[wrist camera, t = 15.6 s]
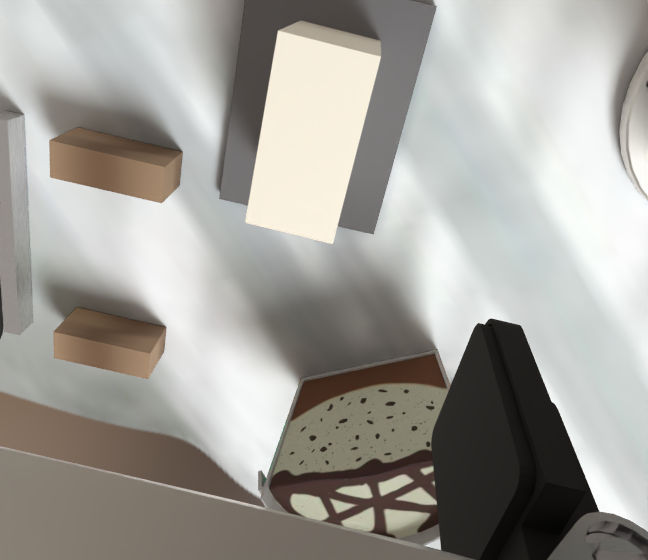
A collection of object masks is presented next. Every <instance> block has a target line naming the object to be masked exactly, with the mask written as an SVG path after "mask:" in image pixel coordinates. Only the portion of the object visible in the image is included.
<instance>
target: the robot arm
mask: <svg viewBox="0 0 648 560" xmlns="http://www.w3.org/2000/svg"><path fill="white" fill-rule="evenodd" d="M647 81H648V51H647V53H646V54H645V55H644V57H643V58H642V60H641V62H640V64H639V66H638V68H637V70H636V72H635V74H634V76H633V78H632V80H631V82H630V84H629V88H628V91H627V94H626V97H625V101H624V104H623V107H622V113H621V122H620V131H619V134H620V145H621V155H622V158H623V161H624V164H625V167H626V170H627V174H628V176H629V177H630V179H631V181H632V182H633V184H634V185H635V187H636V189H637V190H638V192H639V193H640V194H641V195H642V196H643V197H644V198H645V199H646V200H647V201H648V86H646V84H647ZM2 333H3V313H2V299H1V286H0V338H1V336H2ZM431 449H432V460H433V470H434V480H435V490H436V501H437V511H438V521H439V532H440V542H441V550H438V549H434V548H430V547H427V546H423V545H419V544H416V543H412V542H408V541H404V540H399V539H395V538H391V537H387V536H382V535H378V534H374V533H370V532H366V531H361V530H357V529H353V528H349V527H345V526H341V525H336V524H332V523H328V522H324V521H319V520H315V519H311V518H307V517H302V516H298V515H294V514H290V513H285V512H281V511H277V510H273V509H268V508H264V507H260V506H256V505H251V504H247V503H243V502H239V501H234V500H230V499H226V498H221V497H218V496H213V495H209V494H205V493H201V492H196V491H192V490H188V489H184V488H179V487H175V486H171V485H166V484H162V483H158V482H153V481H149V480H145V479H140V478H136V477H132V476H127V475H123V474H118V473H114V472H110V471H106V470H101V469H97V468H93V467H88V466H84V465H80V464H75V463H70V462H66V461H62V460H58V459H53V458H48V457H44V456H40V455H36V454H32V453H27V452H23V451H18V450H13V449H10V448H5V447H1V446H0V560H648V532H647V531H646V530H645V529H643V528H641V527H640V526H638V525H636V524H635V523H633V522H631V521H630V520H627V519H625V518H622V517H620V516H617V515H615V514H610V513H604V512H599V510H598V507H597V505H596V502H595V500H594V498H593V495H592V493H591V490H590V488H589V485H588V483H587V480H586V478H585V475H584V473H583V470H582V468H581V465H580V463H579V460H578V458H577V455H576V453H575V451H574V448H573V446H572V443H571V441H570V438H569V436H568V433H567V431H566V428H565V426H564V423H563V421H562V418H561V416H560V413H559V411H558V409H557V407H556V406H555V404H554V403H552V402H551V400H550V397H549V395H548V392H547V389H546V387H545V384H544V382H543V379H542V377H541V374H540V372H539V369H538V367H537V364H536V362H535V359H534V357H533V354H532V352H531V349H530V347H529V344H528V341H527V339H526V336H525V334H524V331H523V329H522V327H521V326H520V325H517V324H512V323H508V322H504V321H500V320H495V319H489V320H488V321H487V322H486V324H485V325H484V324H480V323H478V324H477V325H476V326H475V328H474V330H473V332H472V335H471V337H470V340H469V342H468V345H467V347H466V350H465V352H464V354H463V357H462V359H461V362H460V364H459V367H458V369H457V372H456V374H455V377H454V379H453V381H452V384H451V386H450V389H449V391H448V394H447V396H446V399H445V401H444V403H443V406H442V408H441V411H440V413H439V416H438V418H437V421H436V423H435V426H434V429H433V432H432V438H431Z"/></svg>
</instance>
